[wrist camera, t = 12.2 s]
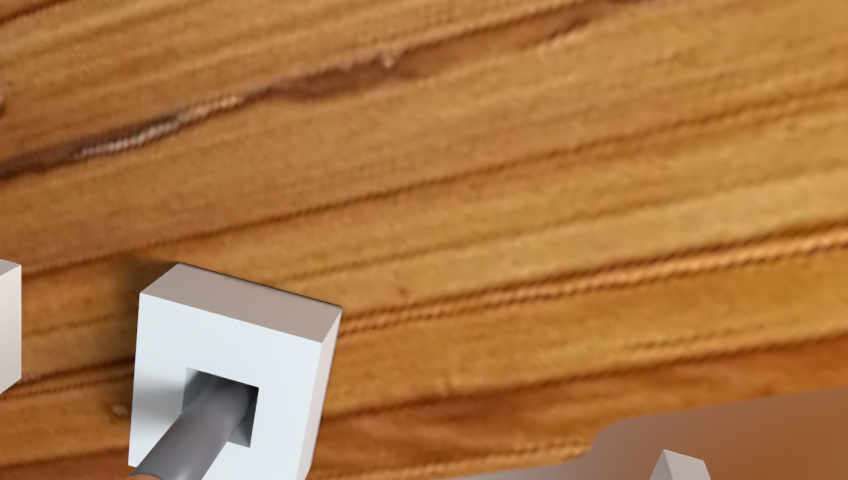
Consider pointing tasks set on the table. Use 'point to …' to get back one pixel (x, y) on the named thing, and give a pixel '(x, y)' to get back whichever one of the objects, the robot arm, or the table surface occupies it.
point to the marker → (198, 432)
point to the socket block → (234, 367)
